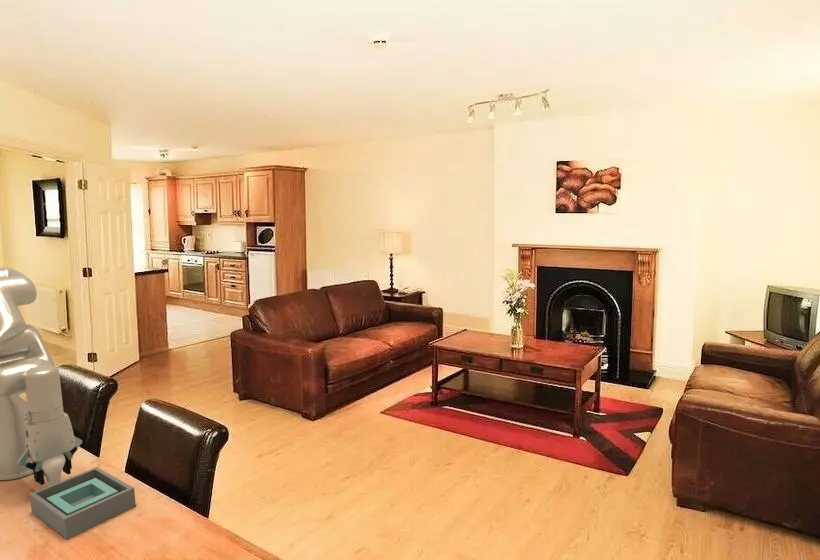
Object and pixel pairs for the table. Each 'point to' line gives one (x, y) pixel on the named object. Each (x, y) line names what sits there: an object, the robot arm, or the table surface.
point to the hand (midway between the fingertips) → (54, 477)
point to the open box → (82, 501)
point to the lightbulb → (53, 468)
